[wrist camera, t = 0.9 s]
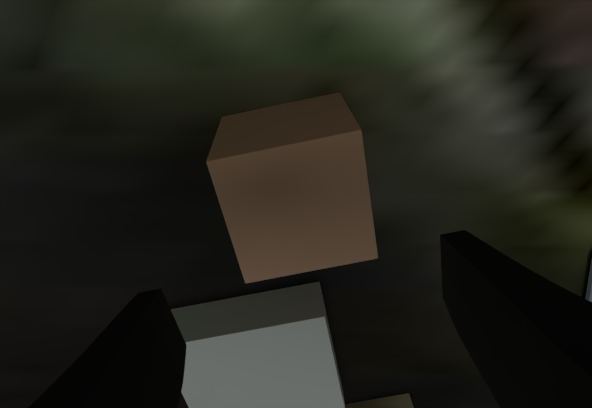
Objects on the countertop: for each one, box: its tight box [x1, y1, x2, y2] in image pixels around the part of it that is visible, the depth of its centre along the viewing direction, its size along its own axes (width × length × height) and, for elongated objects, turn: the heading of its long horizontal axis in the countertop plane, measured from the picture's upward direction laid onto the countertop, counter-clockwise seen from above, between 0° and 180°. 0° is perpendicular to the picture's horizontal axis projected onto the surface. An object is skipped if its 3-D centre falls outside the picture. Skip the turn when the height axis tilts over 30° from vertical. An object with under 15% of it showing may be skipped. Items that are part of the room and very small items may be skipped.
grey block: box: [171, 282, 345, 408], centre depth 23 cm, size 8×8×3 cm
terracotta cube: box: [206, 92, 378, 283], centre depth 17 cm, size 5×5×5 cm
